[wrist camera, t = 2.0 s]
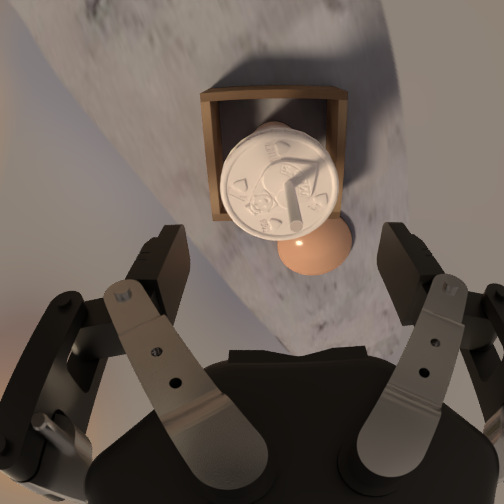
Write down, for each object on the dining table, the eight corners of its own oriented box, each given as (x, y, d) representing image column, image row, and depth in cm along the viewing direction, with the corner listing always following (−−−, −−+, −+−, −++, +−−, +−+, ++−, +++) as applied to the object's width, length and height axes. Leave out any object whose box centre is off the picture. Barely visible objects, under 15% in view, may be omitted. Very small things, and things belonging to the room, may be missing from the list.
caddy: (209, 88, 22) (199, 93, 18) (334, 86, 21) (347, 91, 18) (219, 198, 27) (212, 221, 24) (330, 196, 27) (339, 219, 23)
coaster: (277, 209, 27) (277, 212, 27) (354, 209, 27) (356, 211, 27) (277, 272, 31) (277, 275, 31) (345, 271, 31) (346, 274, 31)
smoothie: (329, 151, 24) (387, 246, 13) (267, 194, 27) (269, 313, 15) (281, 89, 22) (304, 122, 10) (217, 137, 24) (172, 222, 12)
